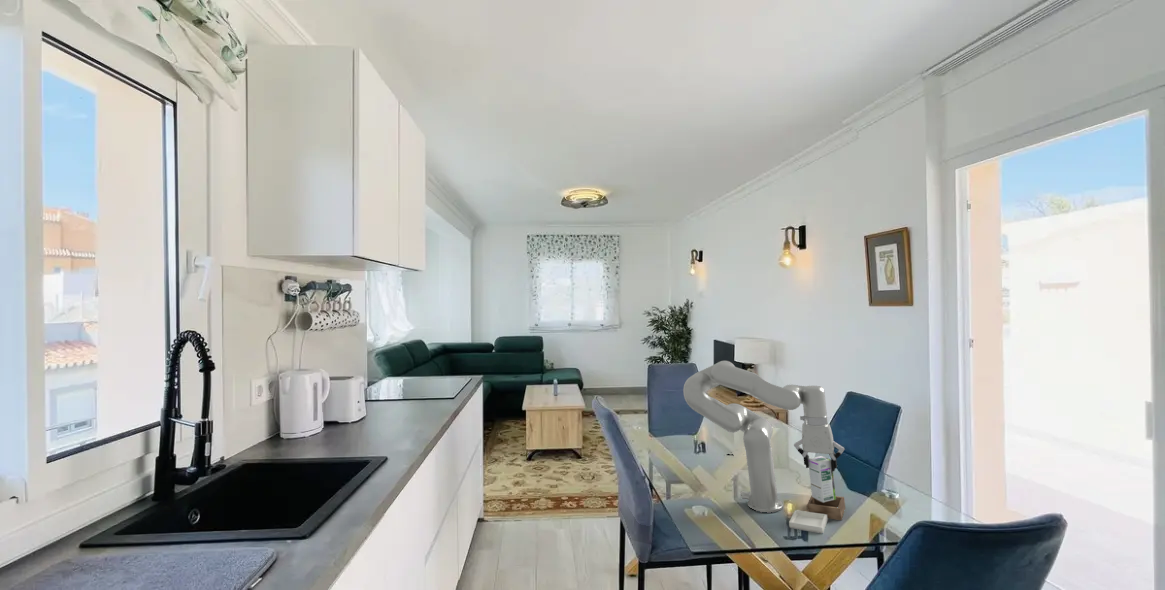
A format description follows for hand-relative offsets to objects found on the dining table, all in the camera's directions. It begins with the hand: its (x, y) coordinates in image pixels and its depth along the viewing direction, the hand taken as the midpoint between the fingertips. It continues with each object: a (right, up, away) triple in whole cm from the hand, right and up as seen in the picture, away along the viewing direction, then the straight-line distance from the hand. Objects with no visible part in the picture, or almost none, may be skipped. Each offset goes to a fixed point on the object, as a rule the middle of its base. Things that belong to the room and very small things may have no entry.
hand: (820, 468), depth 173 cm
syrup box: (+1, -11, 0) cm, 11 cm away
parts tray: (-8, -16, -8) cm, 20 cm away
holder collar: (+2, -16, -1) cm, 16 cm away
